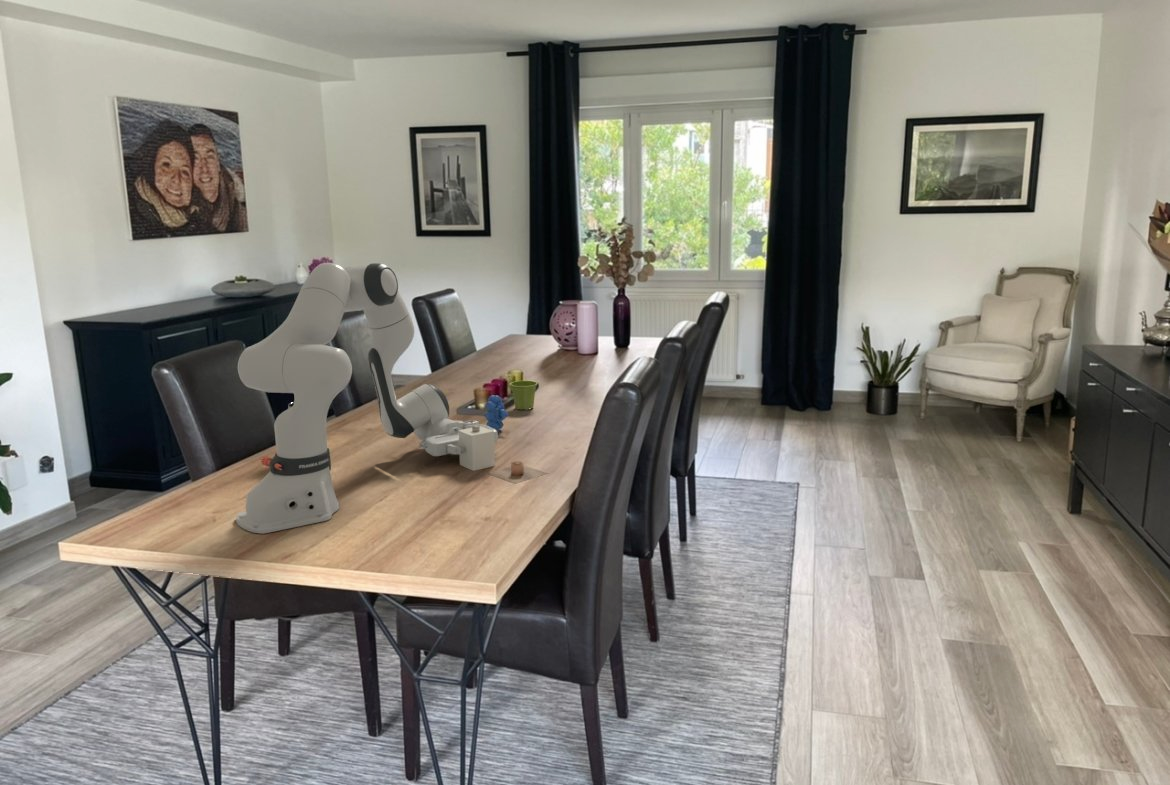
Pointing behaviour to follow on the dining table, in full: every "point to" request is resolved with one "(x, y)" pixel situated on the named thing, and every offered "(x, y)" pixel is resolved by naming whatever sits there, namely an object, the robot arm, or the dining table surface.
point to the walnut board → (527, 475)
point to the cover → (477, 447)
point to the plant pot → (523, 393)
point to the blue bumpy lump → (495, 412)
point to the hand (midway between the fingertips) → (477, 447)
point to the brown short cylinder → (517, 468)
